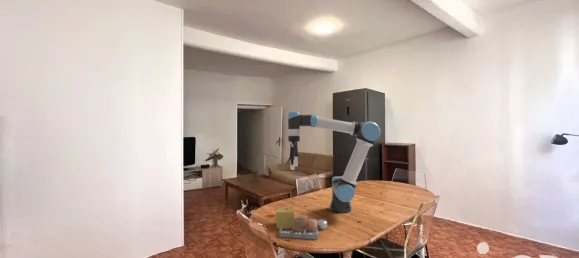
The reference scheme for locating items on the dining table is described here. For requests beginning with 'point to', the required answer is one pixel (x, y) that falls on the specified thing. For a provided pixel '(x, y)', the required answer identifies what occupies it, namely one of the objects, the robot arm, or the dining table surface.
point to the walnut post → (298, 225)
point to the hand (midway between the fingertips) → (294, 167)
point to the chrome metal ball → (321, 224)
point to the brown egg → (304, 220)
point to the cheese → (285, 218)
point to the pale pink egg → (312, 225)
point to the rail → (298, 234)
